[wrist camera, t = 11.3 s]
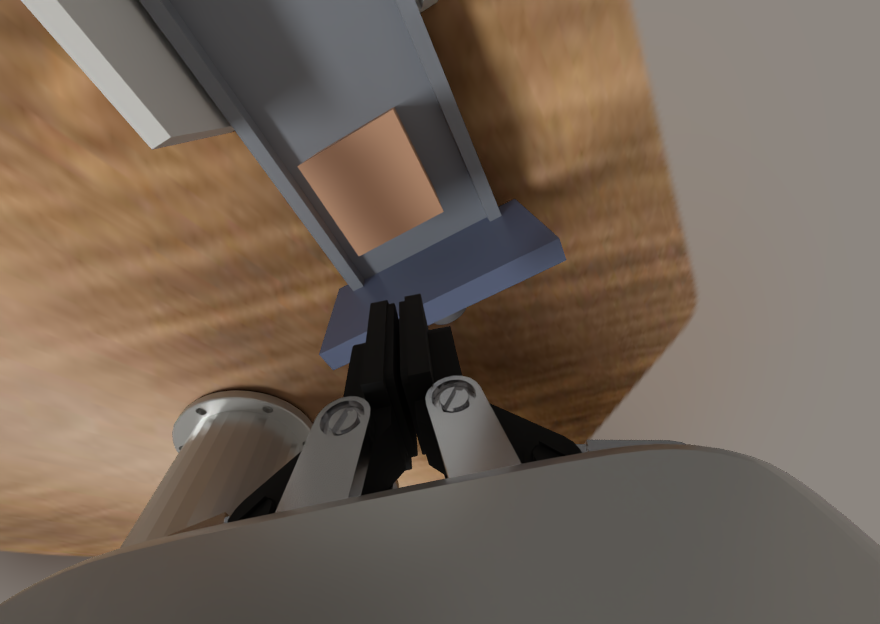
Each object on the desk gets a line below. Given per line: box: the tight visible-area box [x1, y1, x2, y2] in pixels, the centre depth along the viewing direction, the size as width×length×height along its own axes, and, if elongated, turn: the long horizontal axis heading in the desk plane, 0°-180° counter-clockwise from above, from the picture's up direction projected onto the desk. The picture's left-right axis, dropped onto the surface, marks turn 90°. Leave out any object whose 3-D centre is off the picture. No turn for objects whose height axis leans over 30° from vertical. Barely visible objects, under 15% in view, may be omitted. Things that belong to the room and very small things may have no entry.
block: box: [297, 107, 444, 256], centre depth 19 cm, size 5×5×5 cm
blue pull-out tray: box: [139, 0, 566, 370], centre depth 17 cm, size 22×14×8 cm, turn 26°
